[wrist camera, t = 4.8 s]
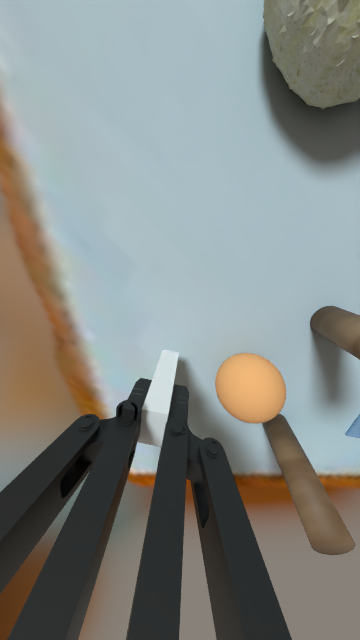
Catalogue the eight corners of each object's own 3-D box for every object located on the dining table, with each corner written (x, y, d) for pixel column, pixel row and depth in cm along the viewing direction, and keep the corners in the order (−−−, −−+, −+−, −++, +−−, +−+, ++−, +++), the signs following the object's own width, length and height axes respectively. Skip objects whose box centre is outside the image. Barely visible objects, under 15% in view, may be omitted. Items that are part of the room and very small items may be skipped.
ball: (226, 370, 12) (223, 336, 17) (207, 427, 14) (210, 381, 19) (313, 393, 11) (282, 350, 16) (280, 450, 13) (262, 395, 18)
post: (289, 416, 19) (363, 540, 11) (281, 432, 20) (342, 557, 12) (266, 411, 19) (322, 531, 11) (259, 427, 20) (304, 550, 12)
